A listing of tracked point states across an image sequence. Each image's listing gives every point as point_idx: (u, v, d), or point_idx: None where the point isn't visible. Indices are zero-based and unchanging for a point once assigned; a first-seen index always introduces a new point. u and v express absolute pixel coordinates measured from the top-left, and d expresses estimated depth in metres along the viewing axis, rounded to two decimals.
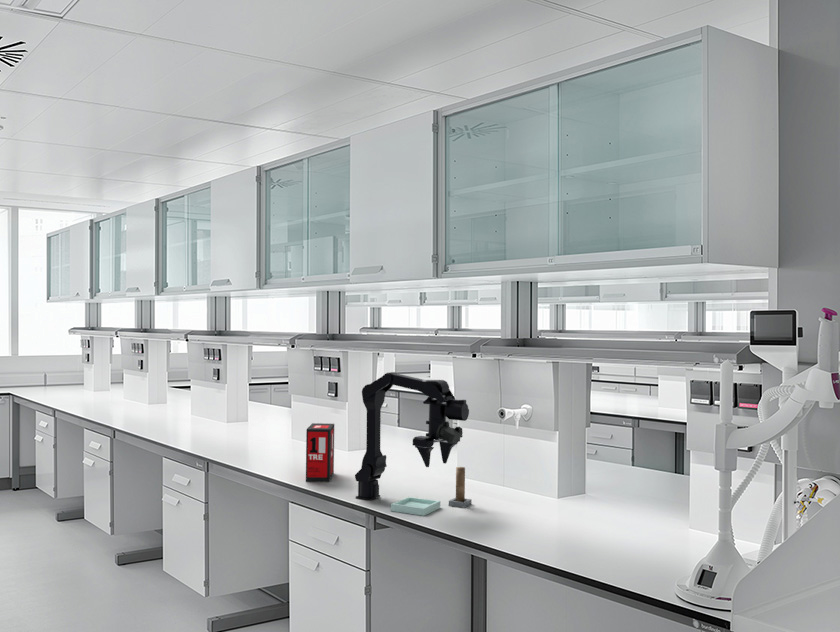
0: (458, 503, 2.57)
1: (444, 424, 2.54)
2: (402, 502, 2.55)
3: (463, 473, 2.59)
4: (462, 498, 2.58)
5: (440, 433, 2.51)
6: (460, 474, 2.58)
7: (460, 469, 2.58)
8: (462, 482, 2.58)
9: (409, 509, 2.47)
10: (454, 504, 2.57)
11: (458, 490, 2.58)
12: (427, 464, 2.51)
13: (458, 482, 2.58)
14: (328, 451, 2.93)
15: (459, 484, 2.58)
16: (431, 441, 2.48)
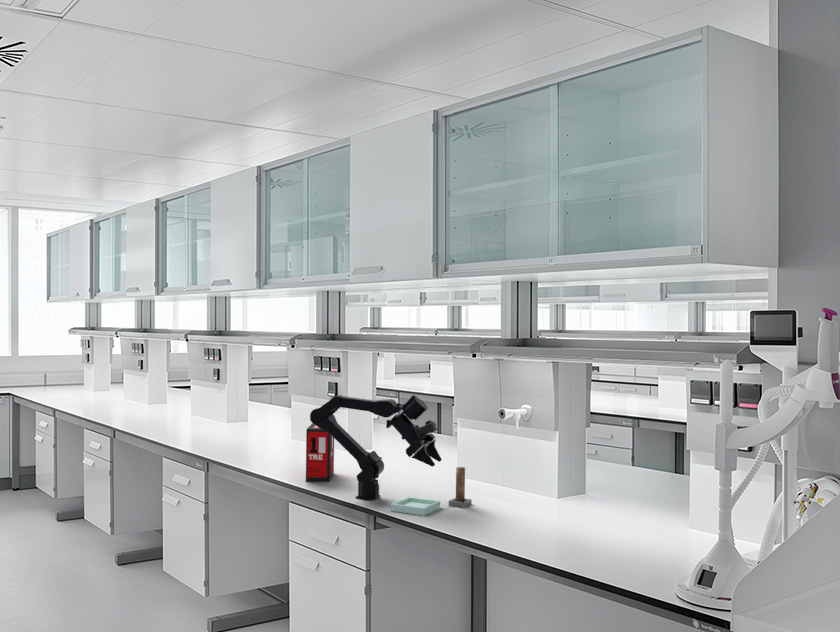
0: (458, 503, 2.57)
1: (416, 427, 2.64)
2: (402, 502, 2.55)
3: (463, 473, 2.59)
4: (462, 498, 2.58)
5: (420, 432, 2.61)
6: (460, 474, 2.58)
7: (460, 469, 2.58)
8: (462, 482, 2.58)
9: (409, 509, 2.47)
10: (454, 504, 2.57)
11: (458, 490, 2.58)
12: (432, 462, 2.57)
13: (458, 482, 2.58)
14: (328, 451, 2.93)
15: (459, 484, 2.58)
16: (420, 440, 2.57)
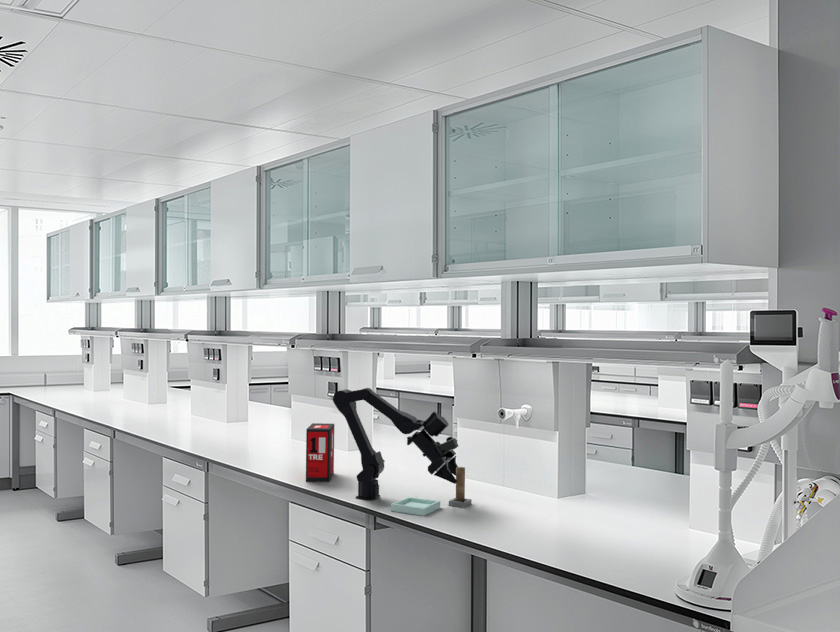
0: (458, 503, 2.57)
1: (437, 444, 2.62)
2: (402, 502, 2.55)
3: (463, 473, 2.59)
4: (462, 498, 2.58)
5: (441, 449, 2.59)
6: (460, 474, 2.58)
7: (460, 469, 2.58)
8: (462, 482, 2.58)
9: (409, 509, 2.47)
10: (454, 504, 2.57)
11: (458, 490, 2.58)
12: (454, 480, 2.55)
13: (458, 482, 2.58)
14: (328, 451, 2.93)
15: (459, 484, 2.58)
16: (442, 457, 2.55)
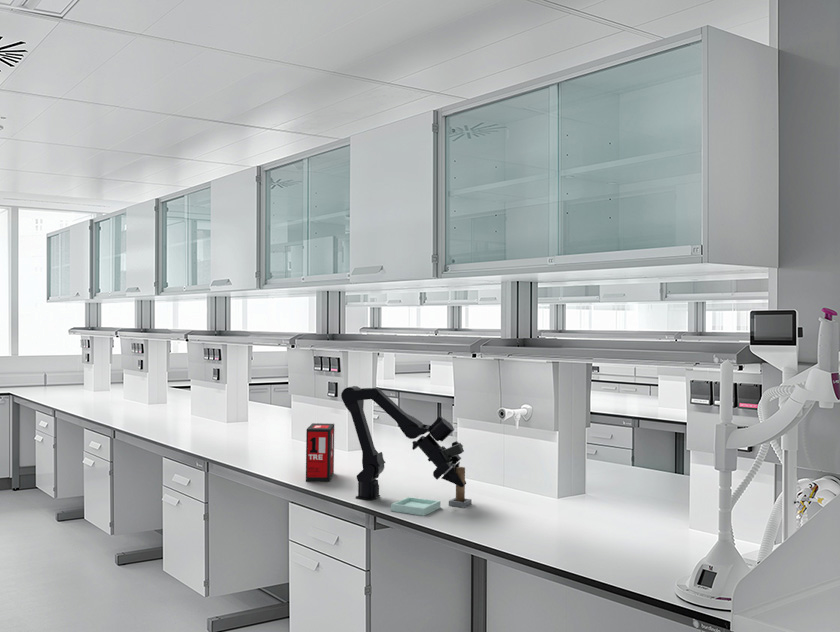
0: (458, 503, 2.57)
1: (442, 448, 2.62)
2: (402, 502, 2.55)
3: (463, 473, 2.59)
4: (462, 498, 2.58)
5: (447, 454, 2.58)
6: (460, 474, 2.58)
7: (460, 469, 2.58)
8: None
9: (409, 509, 2.47)
10: (454, 504, 2.57)
11: (458, 490, 2.58)
12: (461, 483, 2.57)
13: None
14: (328, 451, 2.93)
15: None
16: (448, 462, 2.54)
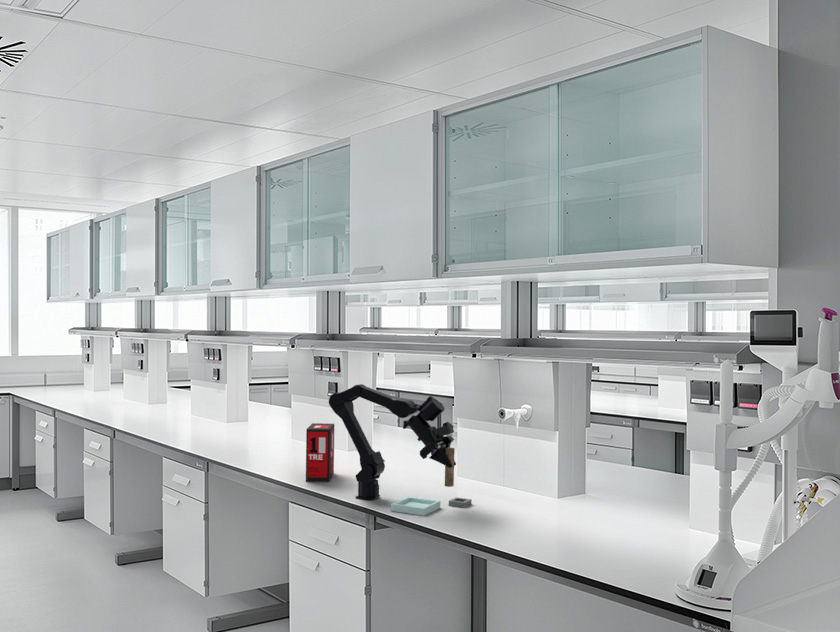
0: (458, 503, 2.57)
1: (432, 428, 2.60)
2: (402, 502, 2.55)
3: (452, 454, 2.56)
4: (451, 478, 2.56)
5: (436, 434, 2.56)
6: (449, 454, 2.56)
7: (449, 449, 2.56)
8: None
9: (409, 509, 2.47)
10: (454, 504, 2.57)
11: (447, 471, 2.56)
12: (449, 464, 2.55)
13: None
14: (328, 451, 2.93)
15: None
16: (435, 442, 2.52)
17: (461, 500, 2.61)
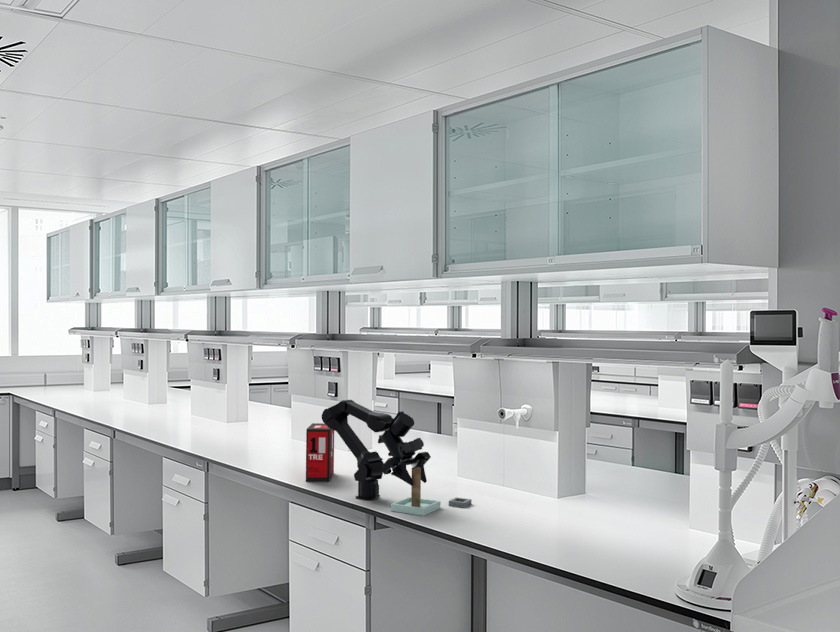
0: (458, 503, 2.57)
1: (403, 444, 2.57)
2: (402, 502, 2.55)
3: (417, 474, 2.51)
4: (415, 499, 2.51)
5: (402, 450, 2.53)
6: (414, 474, 2.51)
7: (413, 469, 2.51)
8: (416, 483, 2.51)
9: (409, 509, 2.47)
10: (454, 504, 2.57)
11: (412, 491, 2.52)
12: (410, 481, 2.49)
13: None
14: (328, 451, 2.93)
15: (413, 485, 2.51)
16: (396, 458, 2.50)
17: (461, 500, 2.61)
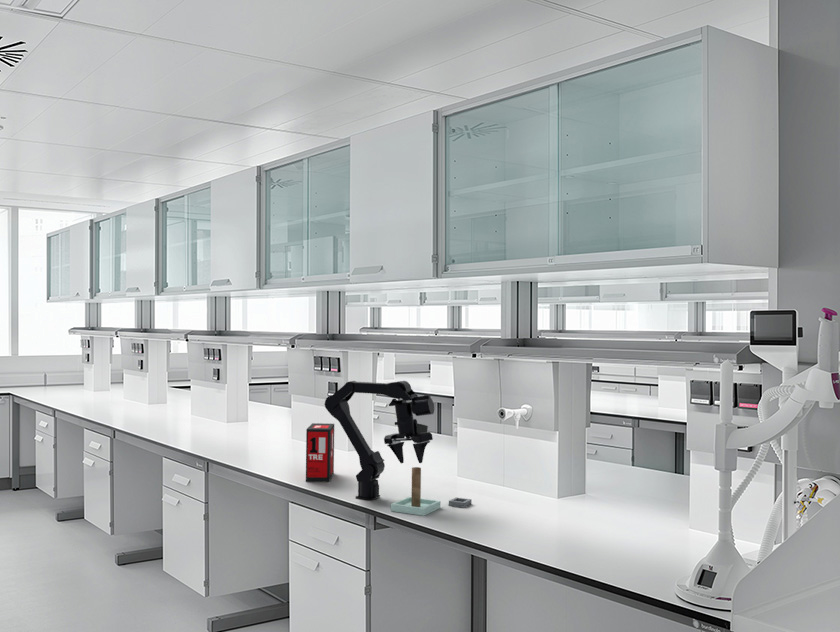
0: (458, 503, 2.57)
1: None
2: (402, 502, 2.55)
3: (417, 474, 2.51)
4: (416, 499, 2.51)
5: (419, 428, 2.64)
6: (414, 474, 2.51)
7: (414, 469, 2.52)
8: (416, 483, 2.51)
9: (409, 509, 2.47)
10: (454, 504, 2.57)
11: (412, 491, 2.52)
12: (422, 459, 2.60)
13: (412, 482, 2.52)
14: (328, 451, 2.93)
15: (413, 485, 2.52)
16: None
17: (461, 500, 2.61)
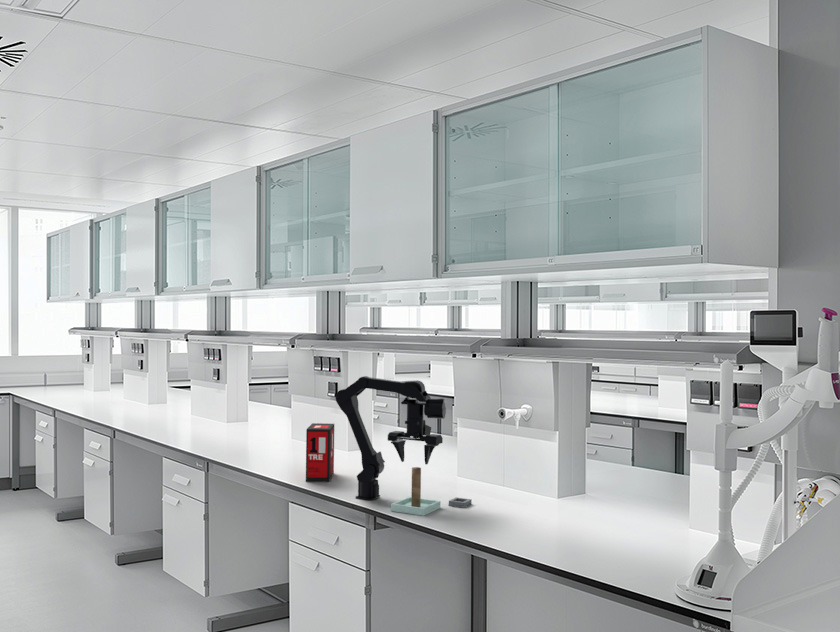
0: (458, 503, 2.57)
1: None
2: (402, 502, 2.55)
3: (417, 474, 2.51)
4: (416, 499, 2.51)
5: (426, 429, 2.66)
6: (414, 474, 2.51)
7: (414, 469, 2.52)
8: (416, 483, 2.51)
9: (409, 509, 2.47)
10: (454, 504, 2.57)
11: (412, 491, 2.52)
12: (428, 461, 2.62)
13: (412, 482, 2.52)
14: (328, 451, 2.93)
15: (413, 485, 2.52)
16: None
17: (461, 500, 2.61)
